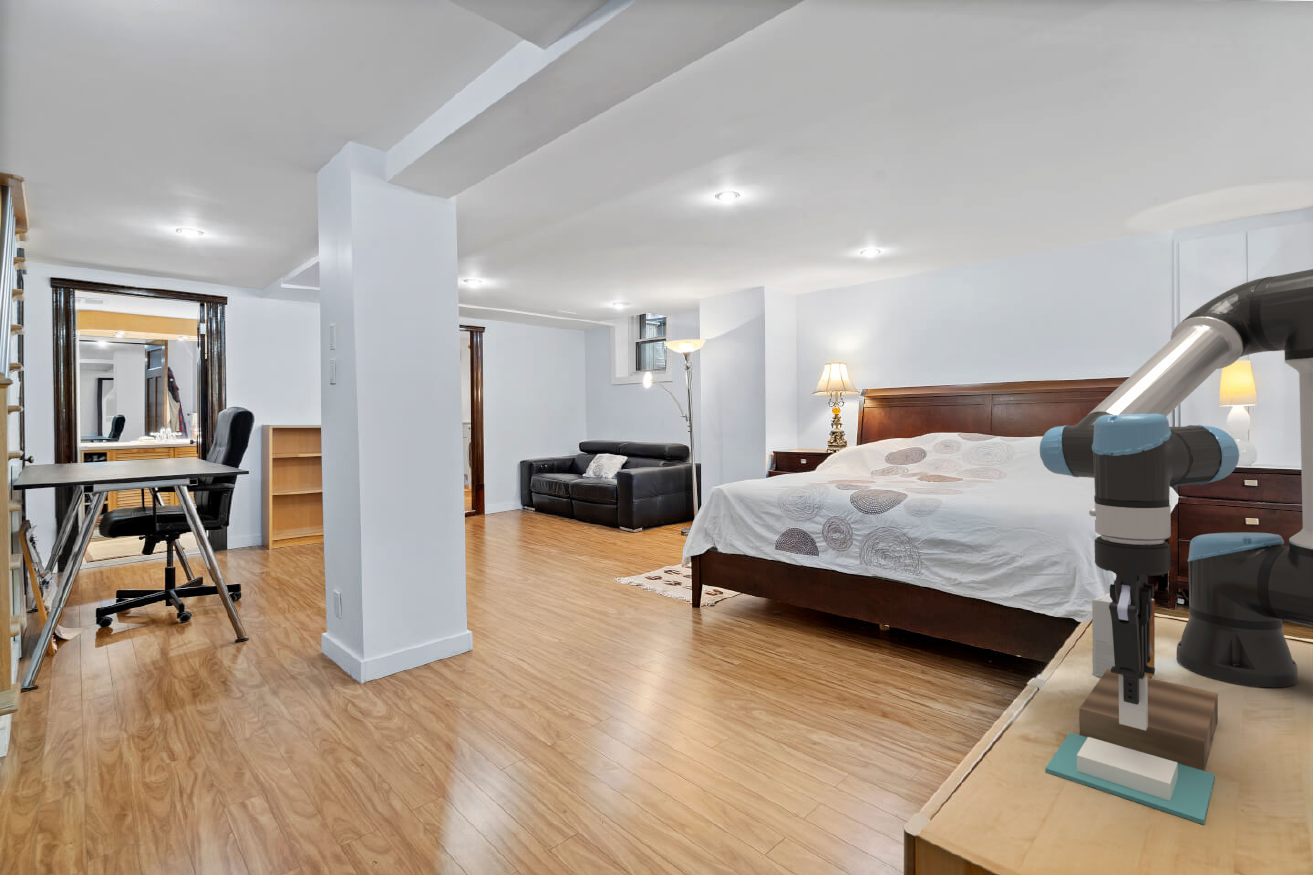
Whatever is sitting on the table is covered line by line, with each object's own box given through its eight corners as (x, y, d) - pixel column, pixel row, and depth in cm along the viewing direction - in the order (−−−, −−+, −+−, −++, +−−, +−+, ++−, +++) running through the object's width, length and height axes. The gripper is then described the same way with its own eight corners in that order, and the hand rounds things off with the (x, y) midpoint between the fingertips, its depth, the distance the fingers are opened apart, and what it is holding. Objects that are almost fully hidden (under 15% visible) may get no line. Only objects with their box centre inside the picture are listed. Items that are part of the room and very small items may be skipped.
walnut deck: (1107, 693, 99) (1107, 668, 99) (1217, 720, 90) (1217, 692, 90) (1079, 736, 87) (1079, 708, 87) (1204, 772, 77) (1204, 740, 77)
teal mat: (1069, 735, 87) (1069, 732, 87) (1214, 777, 76) (1214, 773, 76) (1045, 771, 79) (1045, 767, 79) (1204, 824, 68) (1204, 820, 68)
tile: (1076, 754, 78) (1076, 770, 78) (1170, 783, 71) (1170, 801, 71) (1088, 736, 82) (1088, 751, 82) (1177, 762, 76) (1177, 778, 76)
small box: (1136, 688, 101) (1135, 607, 101) (1091, 675, 106) (1090, 598, 106) (1156, 675, 106) (1155, 598, 105) (1112, 663, 111) (1111, 590, 110)
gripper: (1106, 527, 86) (1108, 698, 86) (1082, 543, 77) (1085, 734, 77) (1177, 533, 80) (1179, 715, 81) (1161, 551, 71) (1163, 756, 72)
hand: (1133, 724), depth 79 cm, fingers closed
